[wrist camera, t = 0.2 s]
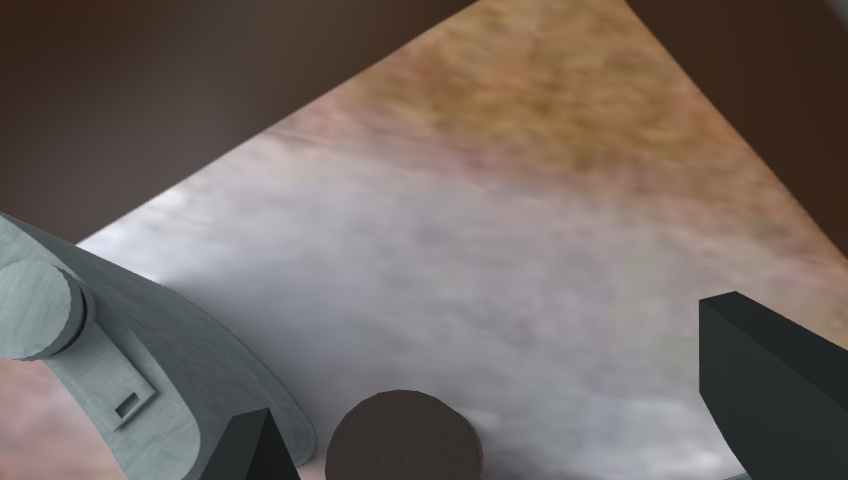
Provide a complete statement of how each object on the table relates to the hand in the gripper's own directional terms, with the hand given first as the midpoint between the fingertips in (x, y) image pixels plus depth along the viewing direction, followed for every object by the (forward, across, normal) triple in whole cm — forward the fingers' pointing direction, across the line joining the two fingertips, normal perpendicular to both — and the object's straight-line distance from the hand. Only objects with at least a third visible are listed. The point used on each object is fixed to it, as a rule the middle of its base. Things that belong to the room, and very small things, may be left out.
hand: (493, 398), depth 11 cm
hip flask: (+27, +14, +18) cm, 36 cm away
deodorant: (+21, +3, +23) cm, 31 cm away
